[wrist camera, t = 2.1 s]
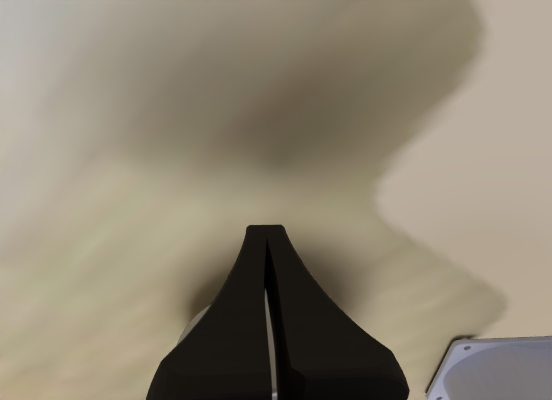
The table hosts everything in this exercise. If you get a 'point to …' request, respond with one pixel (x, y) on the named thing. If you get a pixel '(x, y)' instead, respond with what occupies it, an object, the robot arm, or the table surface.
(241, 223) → the table surface
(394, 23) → the table surface
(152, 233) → the table surface
